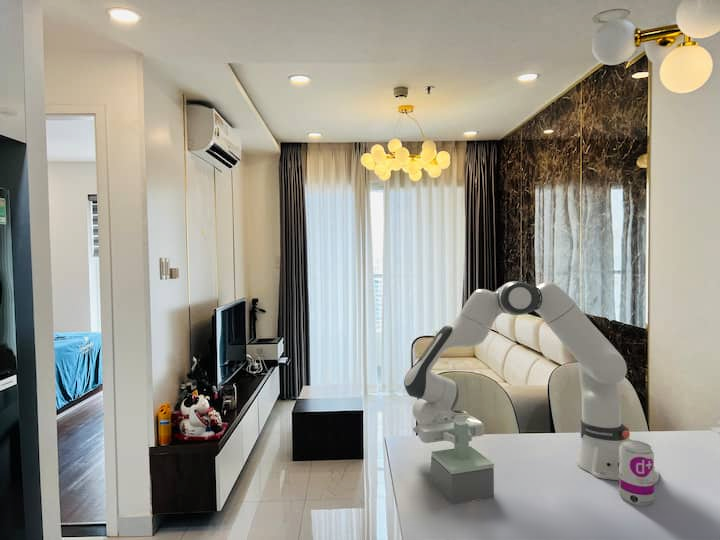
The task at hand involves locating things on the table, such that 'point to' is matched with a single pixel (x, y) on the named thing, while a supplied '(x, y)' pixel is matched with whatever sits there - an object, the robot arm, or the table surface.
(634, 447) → the supplement can
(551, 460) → the table surface
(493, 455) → the table surface
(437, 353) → the robot arm
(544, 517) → the table surface
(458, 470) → the lid
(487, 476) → the tub
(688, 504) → the table surface
